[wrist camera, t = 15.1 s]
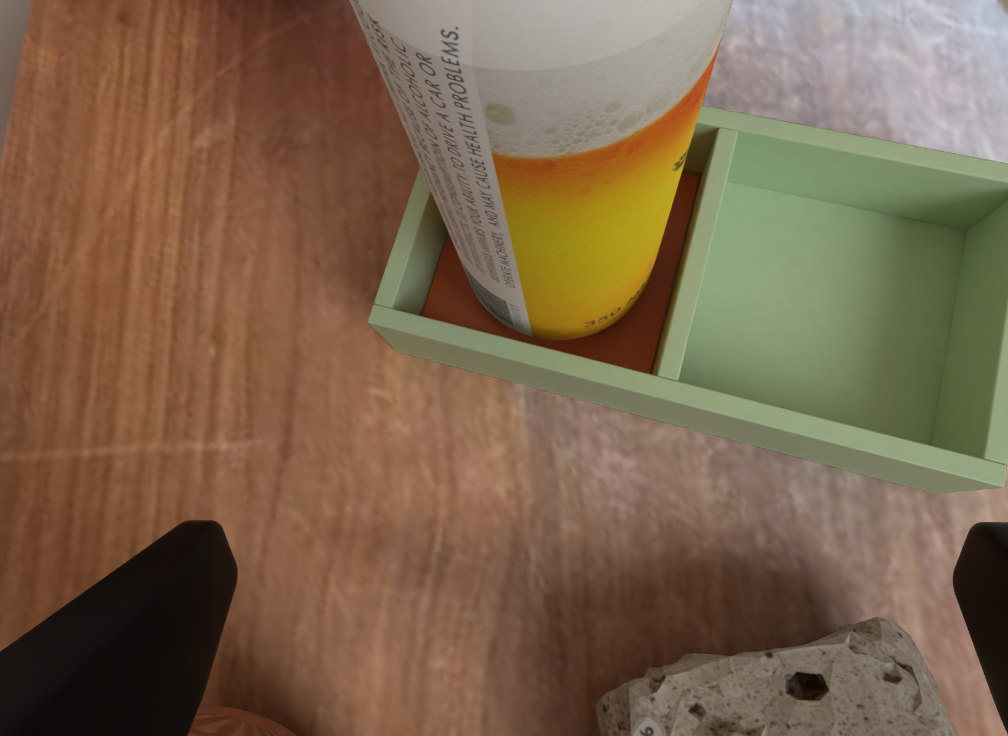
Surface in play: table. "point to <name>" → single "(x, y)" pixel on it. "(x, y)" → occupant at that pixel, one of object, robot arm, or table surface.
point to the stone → (788, 691)
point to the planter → (233, 723)
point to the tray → (776, 306)
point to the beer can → (549, 139)
